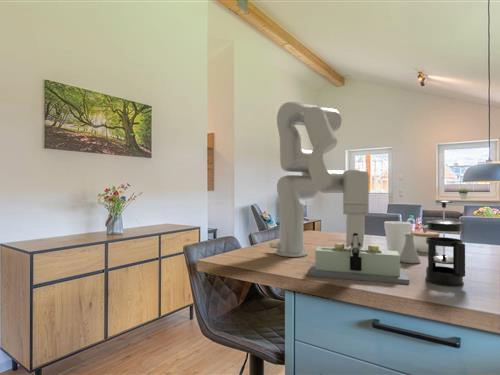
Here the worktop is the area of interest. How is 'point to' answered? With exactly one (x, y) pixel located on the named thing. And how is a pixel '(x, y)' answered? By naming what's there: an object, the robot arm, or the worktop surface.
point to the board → (359, 276)
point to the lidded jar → (422, 239)
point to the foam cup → (396, 234)
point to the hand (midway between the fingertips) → (355, 266)
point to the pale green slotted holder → (370, 262)
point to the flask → (409, 251)
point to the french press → (440, 273)
